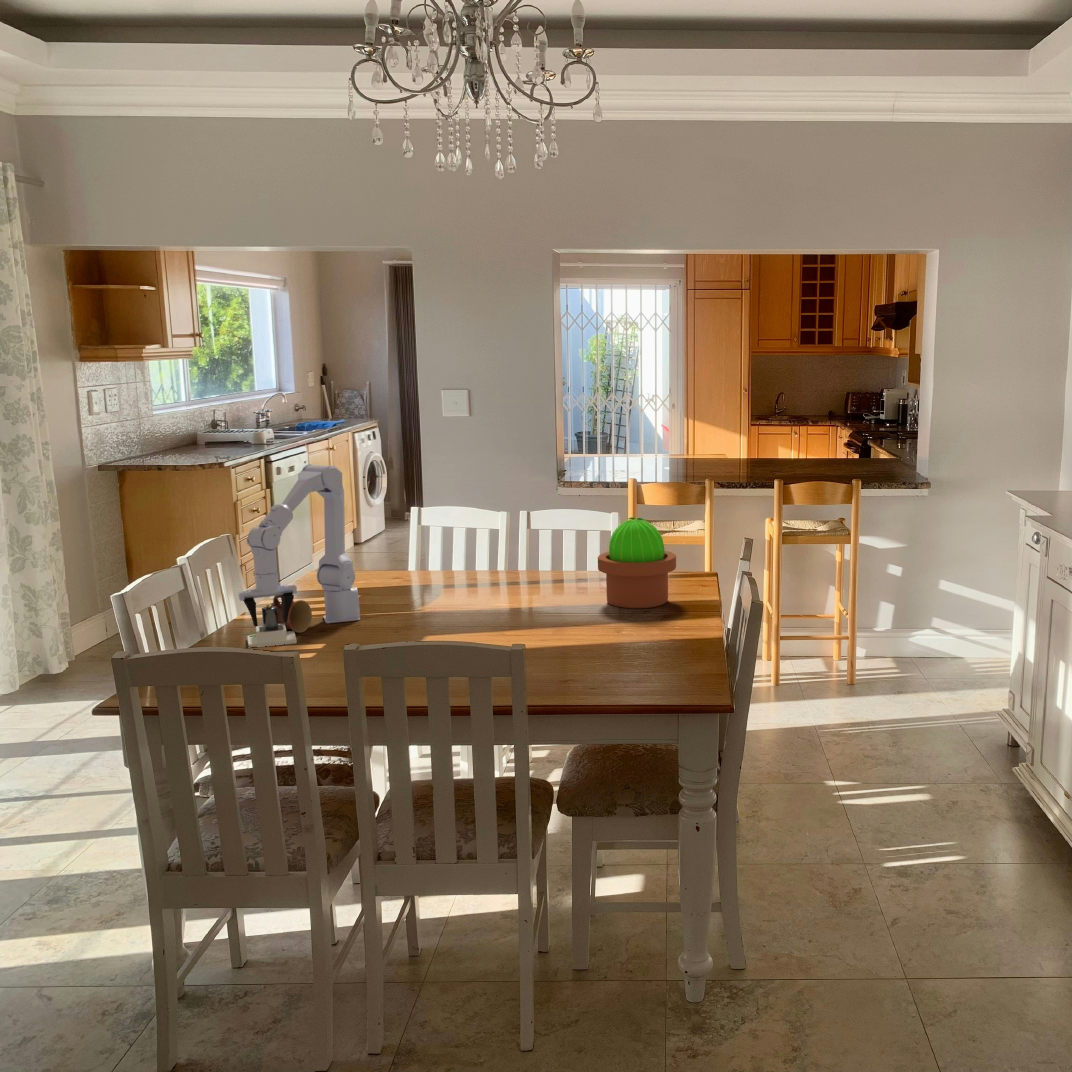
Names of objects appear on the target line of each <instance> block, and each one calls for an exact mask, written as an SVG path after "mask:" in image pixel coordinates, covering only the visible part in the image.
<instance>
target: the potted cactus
mask: <svg viewBox="0 0 1072 1072" xmlns="http://www.w3.org/2000/svg"><path fill="white" fill-rule="evenodd" d="M650 522H651V521H649V522H648V521H647V520H645V518H641V517H633V516H631V517H629V518H628V520H627V519H626V518H625V520H624V522H621V523H620V524H619V526H617V527H616V528H615V530H613V532H612V534H611V535H610V539H609V542H608V545H607V547H608V551H606V552H602V553H601V554H599V555H598V556H597V570H598V571H599V572H600V573H603V574H605V576H606V583H605V584H606V601H607V603H608V604H610V605H611V606H615V607H617V608H623V609H648V608H649V609H650V608H651V609H652V608H655V607H659V606H663V605H664V604H666V603H667V602H668V600H669V573H671V572H673V571H675V570H676V569H677V554H676V553H674V552H671V551H667V550H666V549H665V543H664V540H663V539H664V536H663V535H662V534H661V532H660V530H659V529H657V527H656V526H655V525H653V523H650ZM662 536H663V537H662Z"/></svg>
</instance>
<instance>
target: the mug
mask: <svg viewBox="0 0 1072 1072" xmlns="http://www.w3.org/2000/svg"><path fill="white" fill-rule="evenodd" d="M279 599H281V595H276V596H274V597H273V599H272V603H270V604H272V606H276V607H277V616H278V624H283V623H285V627H286V630H289V631H294V633H298V634H301V633H304V632H306V631H307V630H308V629H309V627H310V625H311V623H312V619H313V617H312V616H313V614H312V608H311V606H310V604H309V603H308V602H307V601H305V600H304V599H303V600H302V599H301V600H300V599H299V600H296V601H294V600H293V601H292V603H291V606H290V609H289V613H288V620H287V622H284V621H283V611H282V601H280V600H279Z"/></svg>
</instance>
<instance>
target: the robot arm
mask: <svg viewBox="0 0 1072 1072" xmlns="http://www.w3.org/2000/svg"><path fill="white" fill-rule="evenodd" d="M313 492H316V493H318V494H319V495H320V496H321V497H322V498H323V505H324V506H323V511H324V521H323V522H324V555H323V556H322V557H321V558H320V559H319V560H318V568H317V571H316V580H317V583H318V584H319V585H320V586H321V589H322V590H323V596H324V598H323V599H324V600H323V601H324V611H325V612H324V613H325V615H323V620H324V622H325V624H336V623H343V622H354V621H360V620H361V616H360V615H361V614H360V612H361V609H360V600H359V598H360V597H359V592H358V587H357V586H353V585H354V583H355V581H356V573H355V570H354V566H353V565H354V564H353V561H352V560H351V558H349V556H348V555H347V554H346V544H345V543H346V535H345V534H346V533H345V529H346V528H345V527H346V525H345V518H346V517H345V489H344V485H343V472H342V471H341V470H340V469H339V468H338V467H337V466H335V465H320V464H319V465H318V464H317V465H316V464H311V463H310V464H306V465H305V466H303V468H302V469H301V470H300V471H299V472H298V474H297V481H296V482H295V483H294V485H293V487H292V488H291V489H290V491H289V492H288V494H287V495H286V497H285V498H284V499H283V501H282V503H278V504H275V505H272V506H271V507H270V508H269V510H270V511H269V512H268V513H267V515H266V516H265V517H264V518H263V519H262V520H261V521H260V522H259V525H257V526H253V527H252V528H251V529H250V531H249V532H248V534H247V538H246V543H247V545H248V546H249V547H250V550H251V554H252V556H253V566H254V567H253V568H254V578H255V588H252V589H249V590H245V591H237V593H238V600H239V601H240V602H241V601H243V603H244V605H245V607H246V608H247V610H248V612H249V614H250V617H251V620H252V624H253V626H254V627H255V628H256V626H259V625H258V624H259V623H258V619H257V602H256V601H255V599H259V598H260V599H261V598H266V597H273V596H274V597H275V596H276V595H281V598H280V599H281V601H280V602H282V611H283V621H284V622H287V620H288V613H289V609H290V606H291V603H292V601H294V598H295V595H294V594H297V593H298V590H297V586H296V585H295V584H291V585H280V583H279V574H278V561H277V560H278V559H277V558H278V557H277V547H278V546H279V545H280V543H281V536H282V534H283V532H284V531H285V530H286V528H287V527H288V526H289V524H290V523H291V521H292V520H293V518H294V513H293V511H295V510H296V508H297V507H298V506H300V504H301V503H302V502H303V501H304V500H305V498H307V497H308V495H309V494H310V493H313Z"/></svg>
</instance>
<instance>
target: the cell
mask: <svg viewBox="0 0 1072 1072" xmlns="http://www.w3.org/2000/svg"><path fill="white" fill-rule="evenodd" d="M261 615H262V626H263V629H264V632H268V631H277V630H279V628H278V616H277V607H276V606H272V604H271V603H270V604H269V603H267V604H266V605H265V606H264V607H262V608H261Z"/></svg>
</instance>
